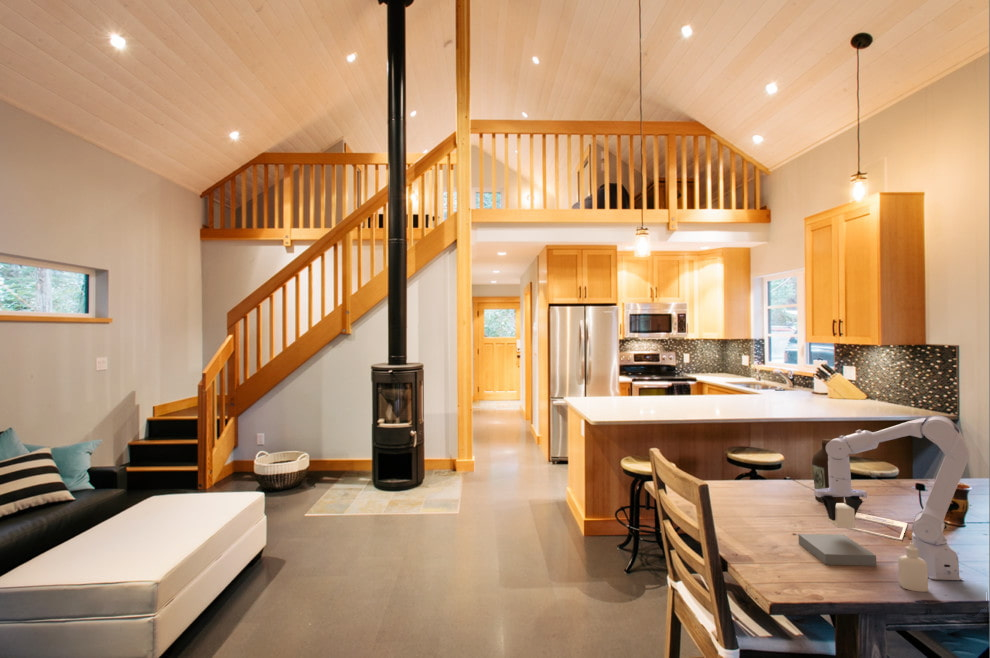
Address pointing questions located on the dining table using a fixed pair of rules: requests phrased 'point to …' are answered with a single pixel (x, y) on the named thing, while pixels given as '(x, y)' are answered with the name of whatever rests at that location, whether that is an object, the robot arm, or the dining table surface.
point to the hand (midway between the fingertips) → (841, 519)
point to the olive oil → (822, 471)
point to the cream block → (843, 516)
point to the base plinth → (837, 549)
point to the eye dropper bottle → (913, 570)
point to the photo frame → (881, 521)
